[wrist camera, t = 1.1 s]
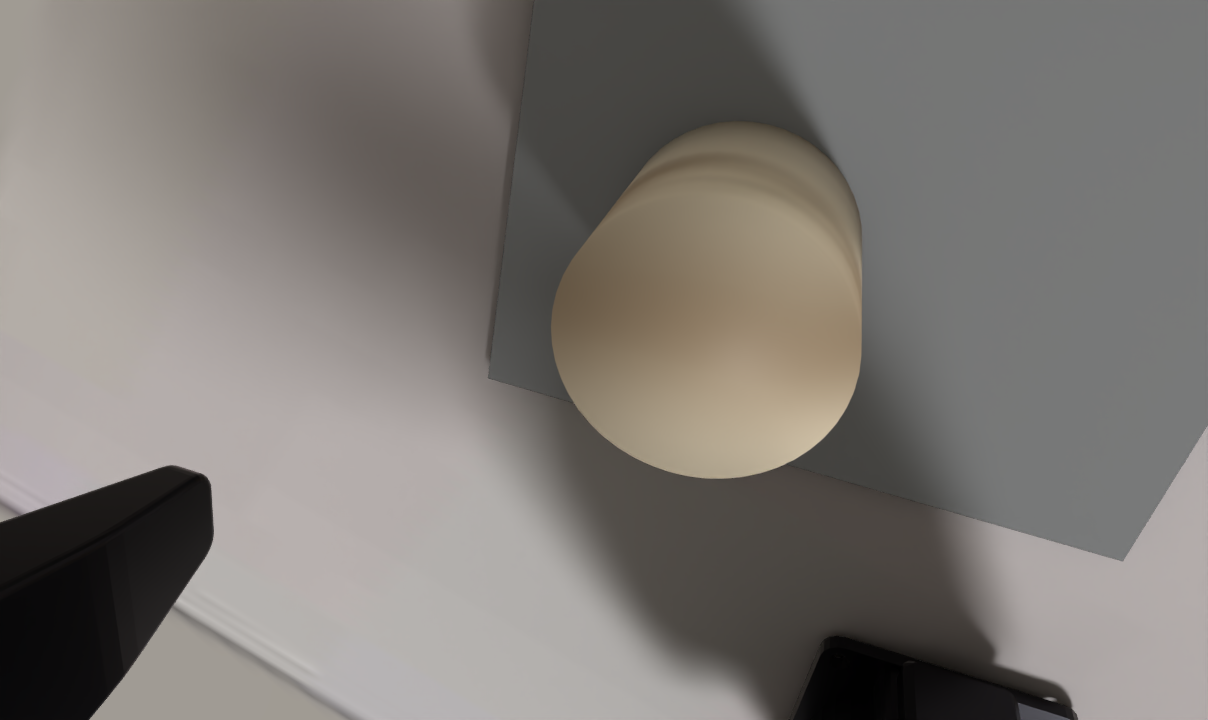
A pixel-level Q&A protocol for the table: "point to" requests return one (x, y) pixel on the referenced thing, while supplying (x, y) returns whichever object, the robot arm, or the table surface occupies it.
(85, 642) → the robot arm
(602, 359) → the maple cylinder
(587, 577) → the table surface
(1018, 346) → the rubber mat
